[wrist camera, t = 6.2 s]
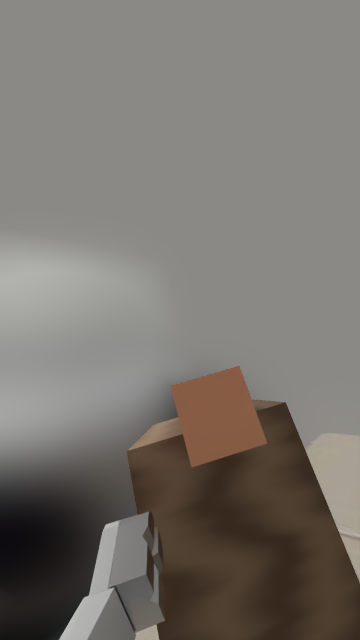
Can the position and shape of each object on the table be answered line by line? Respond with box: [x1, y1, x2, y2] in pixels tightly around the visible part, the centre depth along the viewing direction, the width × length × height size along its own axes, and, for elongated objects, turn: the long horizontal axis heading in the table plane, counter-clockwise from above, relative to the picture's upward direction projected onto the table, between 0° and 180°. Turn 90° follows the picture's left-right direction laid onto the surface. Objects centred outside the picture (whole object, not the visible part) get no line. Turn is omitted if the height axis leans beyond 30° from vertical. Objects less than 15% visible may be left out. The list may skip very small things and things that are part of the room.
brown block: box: [127, 400, 360, 640], centre depth 18 cm, size 12×14×26 cm
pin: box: [171, 366, 267, 468], centre depth 19 cm, size 3×22×3 cm, turn 179°
